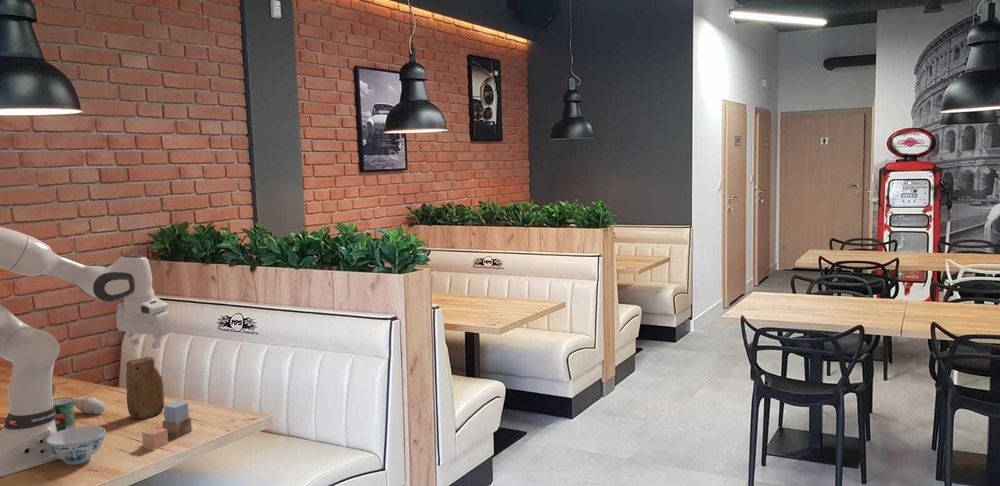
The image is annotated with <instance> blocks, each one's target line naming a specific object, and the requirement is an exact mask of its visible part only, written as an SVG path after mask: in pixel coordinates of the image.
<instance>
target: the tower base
mask: <svg viewBox="0 0 1000 486" xmlns="http://www.w3.org/2000/svg"><path fill="white" fill-rule="evenodd" d="M161 425H162V427H161V428H163V429H167V432H168V438H169V437H170V438H171V439H174V438H176V439H175V440H178V439H180V438H182V437H181V436H183V435H185V434H188V433H190V432H192V433H193V431H192V417H189V418H188V419H186V420H183V421H181V422H178V423H172V422H167V421H165V419H164V420H162V421H161ZM190 434H191V433H190ZM188 435H189V434H188ZM185 436H186V435H185ZM179 437H180V438H179ZM183 437H184V436H183ZM170 438H169V439H170ZM177 438H178V439H177Z"/></svg>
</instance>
